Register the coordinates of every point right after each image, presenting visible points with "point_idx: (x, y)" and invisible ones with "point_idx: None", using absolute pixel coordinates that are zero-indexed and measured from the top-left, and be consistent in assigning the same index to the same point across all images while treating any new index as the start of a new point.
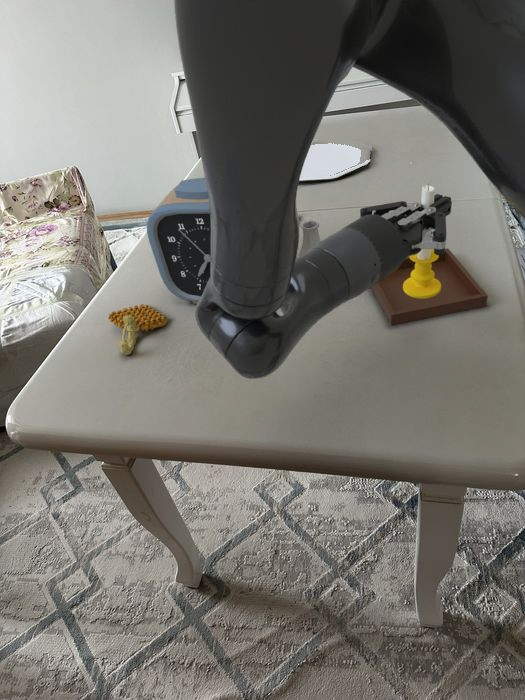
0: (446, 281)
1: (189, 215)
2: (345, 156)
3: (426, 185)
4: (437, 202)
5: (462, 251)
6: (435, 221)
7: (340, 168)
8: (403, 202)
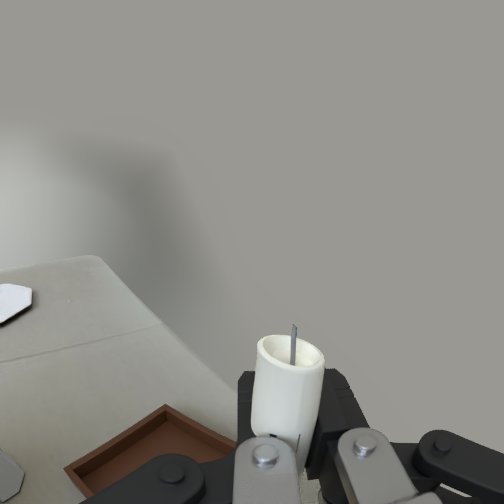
0: (196, 456)
1: None
2: (10, 300)
3: (266, 338)
4: (323, 396)
5: (176, 397)
6: (490, 487)
7: (5, 312)
8: (183, 471)
